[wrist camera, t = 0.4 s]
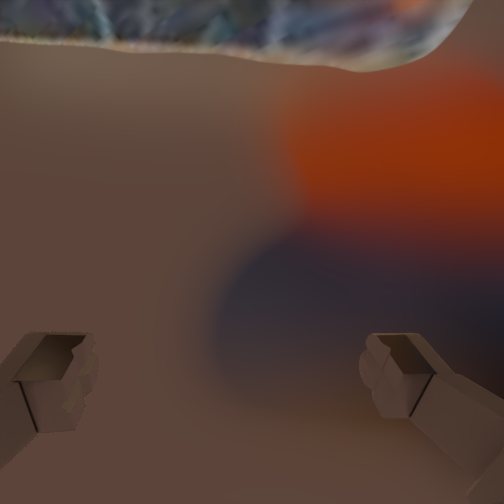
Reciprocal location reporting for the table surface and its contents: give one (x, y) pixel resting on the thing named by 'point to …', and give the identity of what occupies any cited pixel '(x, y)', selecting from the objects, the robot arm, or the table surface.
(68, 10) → the table surface
